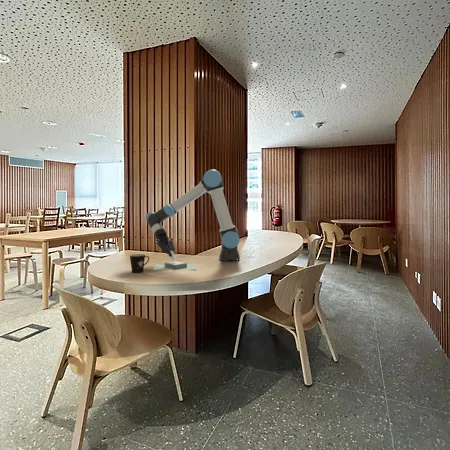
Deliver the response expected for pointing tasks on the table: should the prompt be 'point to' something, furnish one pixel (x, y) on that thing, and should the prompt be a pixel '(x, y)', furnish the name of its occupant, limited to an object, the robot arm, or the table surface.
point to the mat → (162, 267)
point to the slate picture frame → (175, 265)
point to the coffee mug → (138, 262)
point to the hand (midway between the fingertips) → (174, 259)
